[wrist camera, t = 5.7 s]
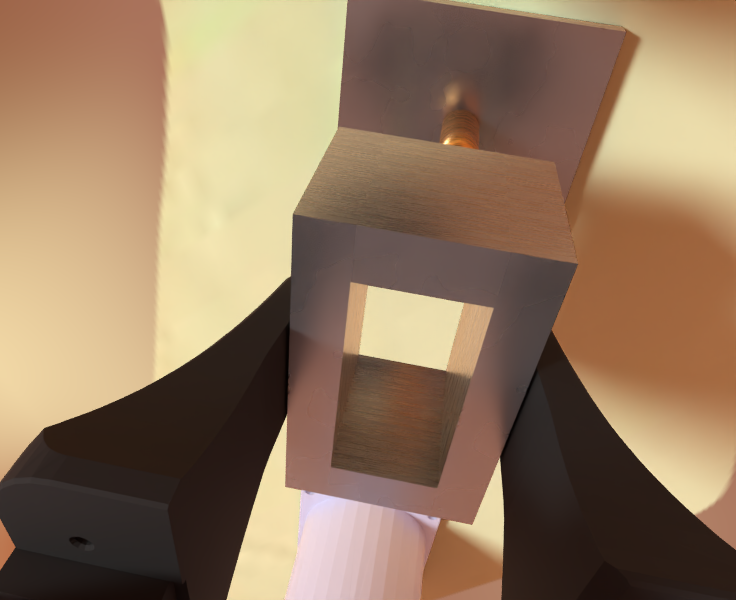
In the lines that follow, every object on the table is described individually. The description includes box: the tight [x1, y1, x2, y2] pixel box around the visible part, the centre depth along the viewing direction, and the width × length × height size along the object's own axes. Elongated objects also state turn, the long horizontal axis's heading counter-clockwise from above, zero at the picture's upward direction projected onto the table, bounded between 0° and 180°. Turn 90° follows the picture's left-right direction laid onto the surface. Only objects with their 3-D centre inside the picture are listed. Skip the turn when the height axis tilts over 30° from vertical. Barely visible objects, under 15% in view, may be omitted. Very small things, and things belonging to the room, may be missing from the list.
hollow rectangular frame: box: [285, 127, 578, 525], centre depth 14 cm, size 8×5×4 cm, turn 174°
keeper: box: [338, 0, 626, 204], centre depth 17 cm, size 7×8×5 cm
